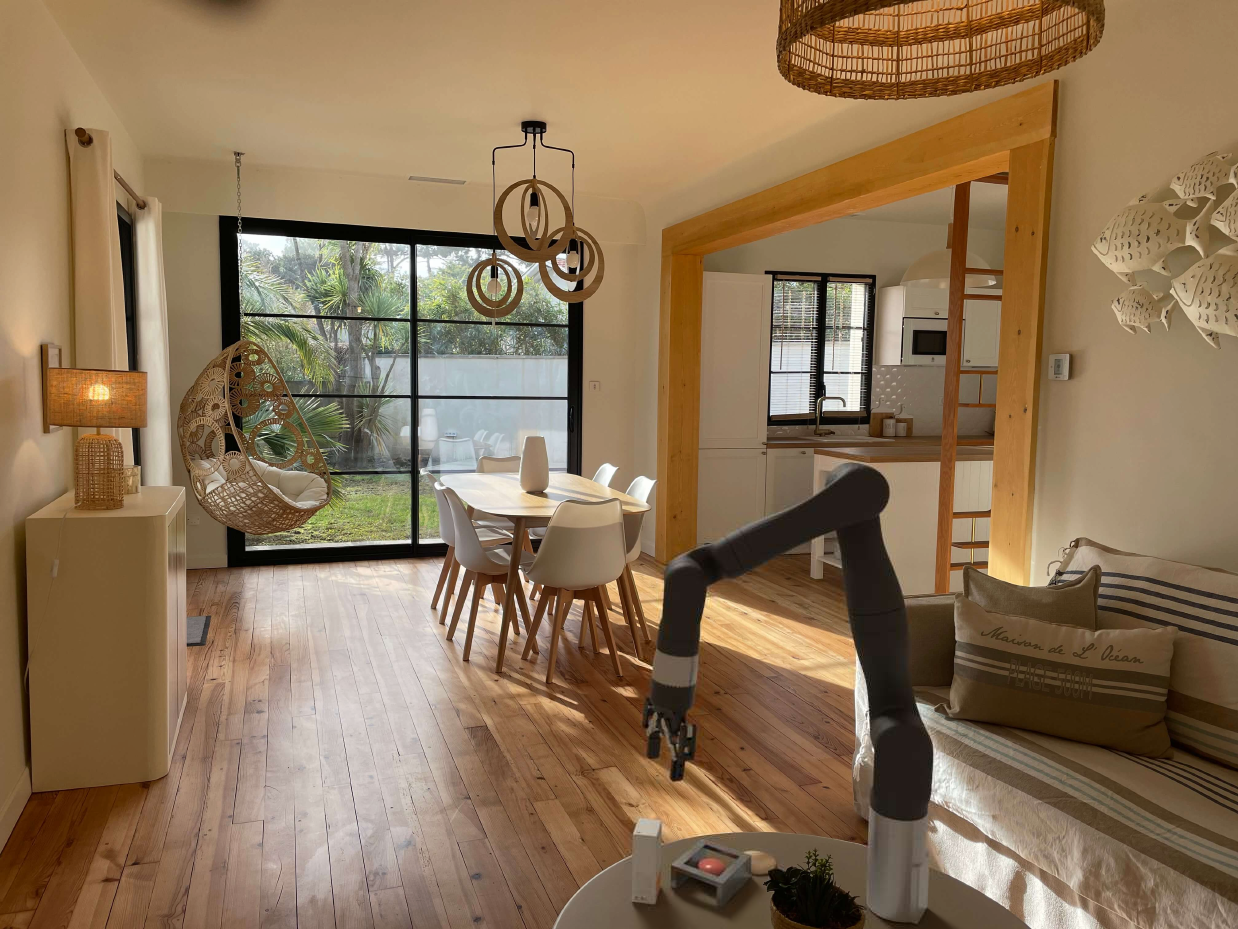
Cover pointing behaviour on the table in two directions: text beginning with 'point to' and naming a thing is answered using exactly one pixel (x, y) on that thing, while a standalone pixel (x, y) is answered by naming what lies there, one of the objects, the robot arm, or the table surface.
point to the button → (711, 866)
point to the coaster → (761, 862)
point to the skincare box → (646, 861)
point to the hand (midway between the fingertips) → (663, 768)
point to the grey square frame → (725, 882)
